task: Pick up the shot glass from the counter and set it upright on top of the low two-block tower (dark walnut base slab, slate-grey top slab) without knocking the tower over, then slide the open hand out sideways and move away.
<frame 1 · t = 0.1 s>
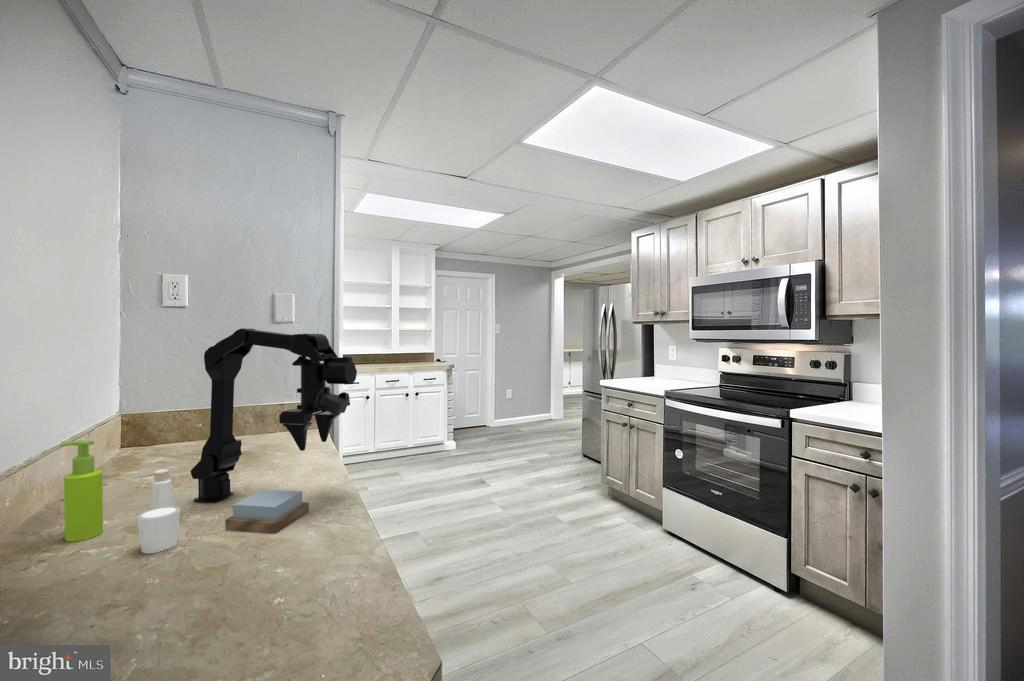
hand: (313, 445, 114), 15 cm above the countertop, tool pointing down, fingers open, 9 cm apart
soap dispenser: (81, 536, 97), on the countertop
tower base: (269, 523, 104), on the countertop, touching tower top
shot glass: (159, 547, 91), on the countertop
tower top: (269, 510, 104), point 2 cm above the countertop, touching tower base
pepper shaker: (161, 518, 106), on the countertop
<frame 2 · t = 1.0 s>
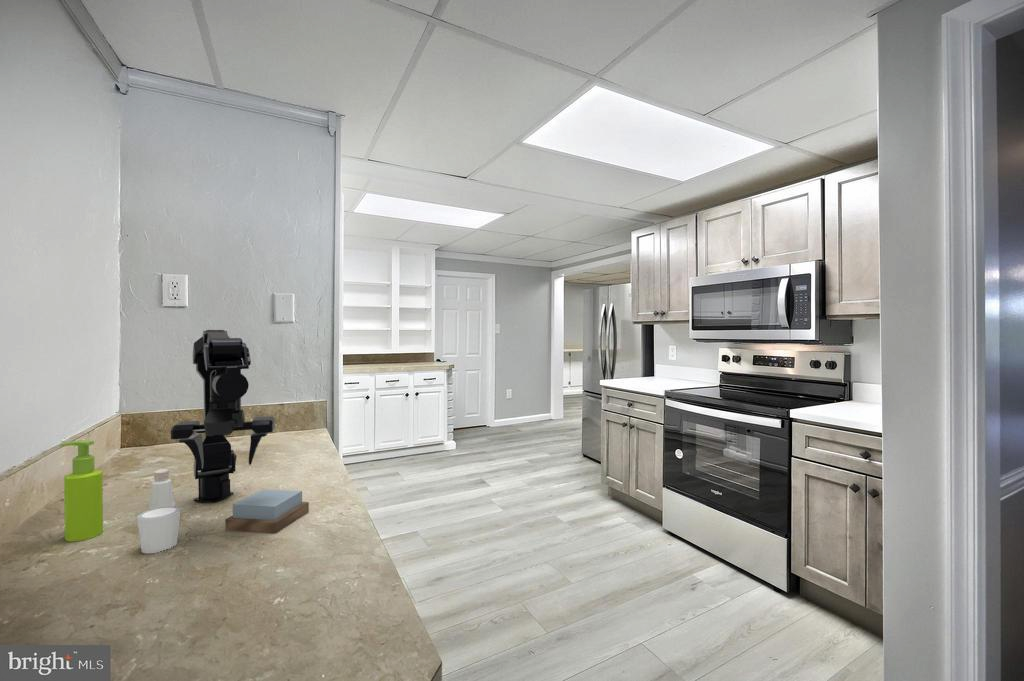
hand: (226, 466, 100), 14 cm above the countertop, tool pointing down, fingers open, 9 cm apart
nothing on the countertop moved.
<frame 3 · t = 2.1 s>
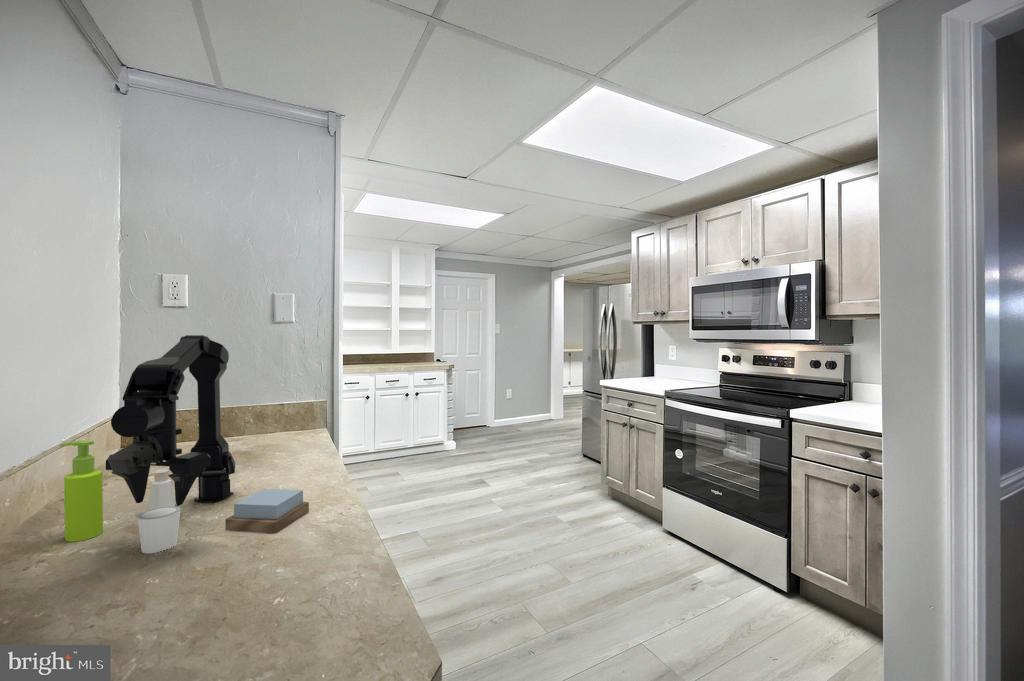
hand: (159, 503, 91), 9 cm above the countertop, tool pointing down, fingers open, 9 cm apart
nothing on the countertop moved.
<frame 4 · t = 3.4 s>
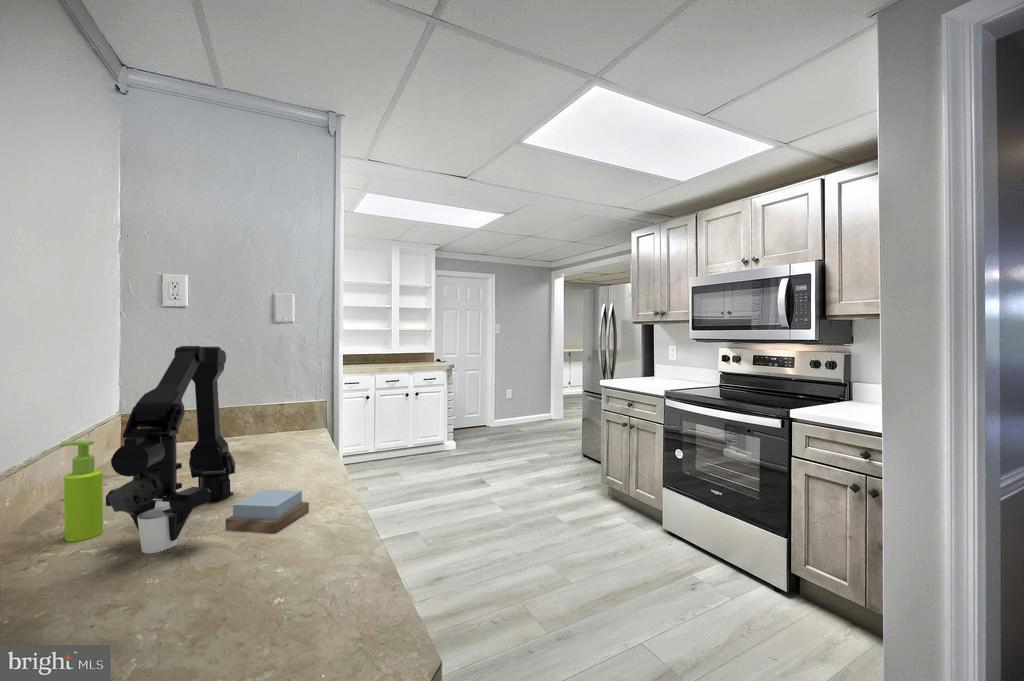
hand: (159, 539, 91), 2 cm above the countertop, tool pointing down, fingers closed on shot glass, 6 cm apart
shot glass: (159, 547, 91), on the countertop, touching gripper
everything else where it was.
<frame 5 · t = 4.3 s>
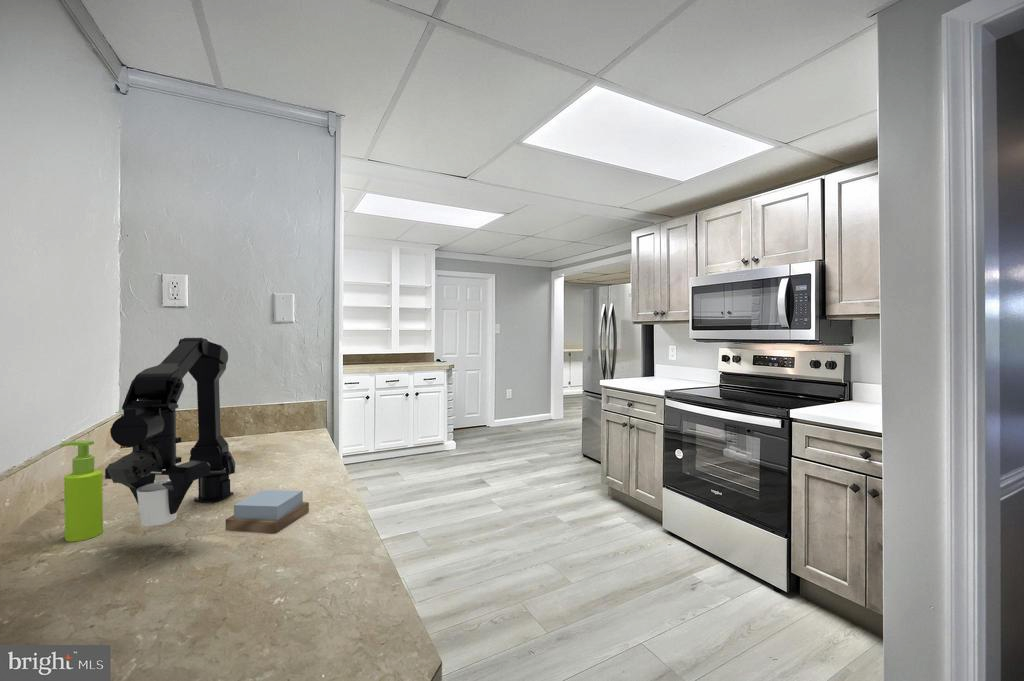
hand: (159, 512, 91), 7 cm above the countertop, tool pointing down, fingers closed on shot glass, 6 cm apart
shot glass: (159, 521, 91), point 5 cm above the countertop, touching gripper
everything else where it was.
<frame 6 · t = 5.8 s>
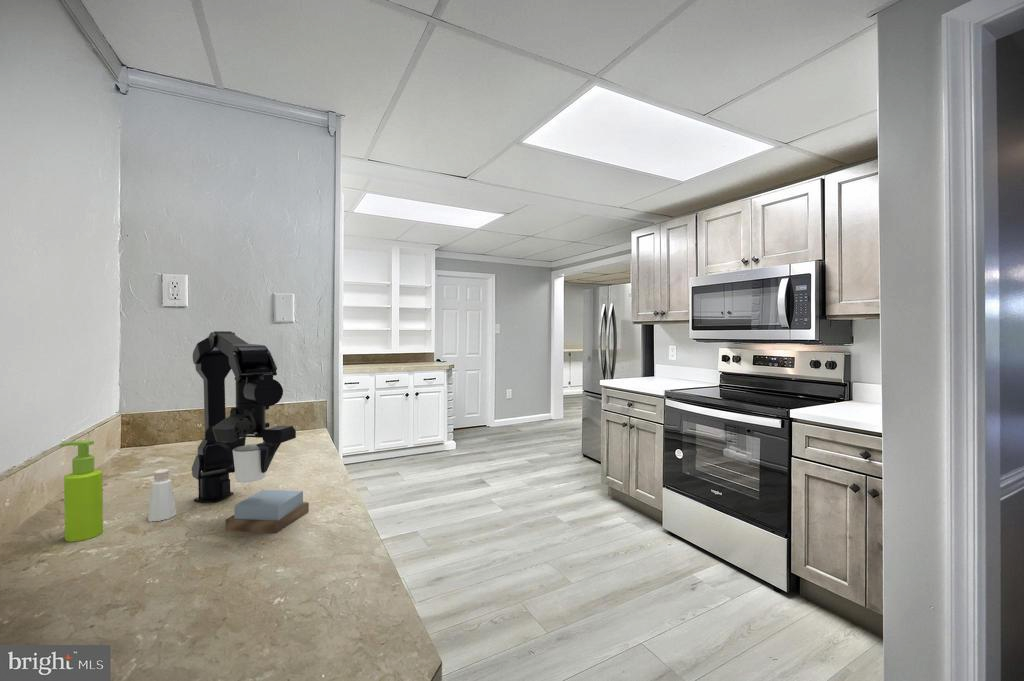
hand: (251, 471, 102), 12 cm above the countertop, tool pointing down, fingers closed on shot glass, 6 cm apart
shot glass: (250, 479, 102), point 10 cm above the countertop, touching gripper
everything else where it was.
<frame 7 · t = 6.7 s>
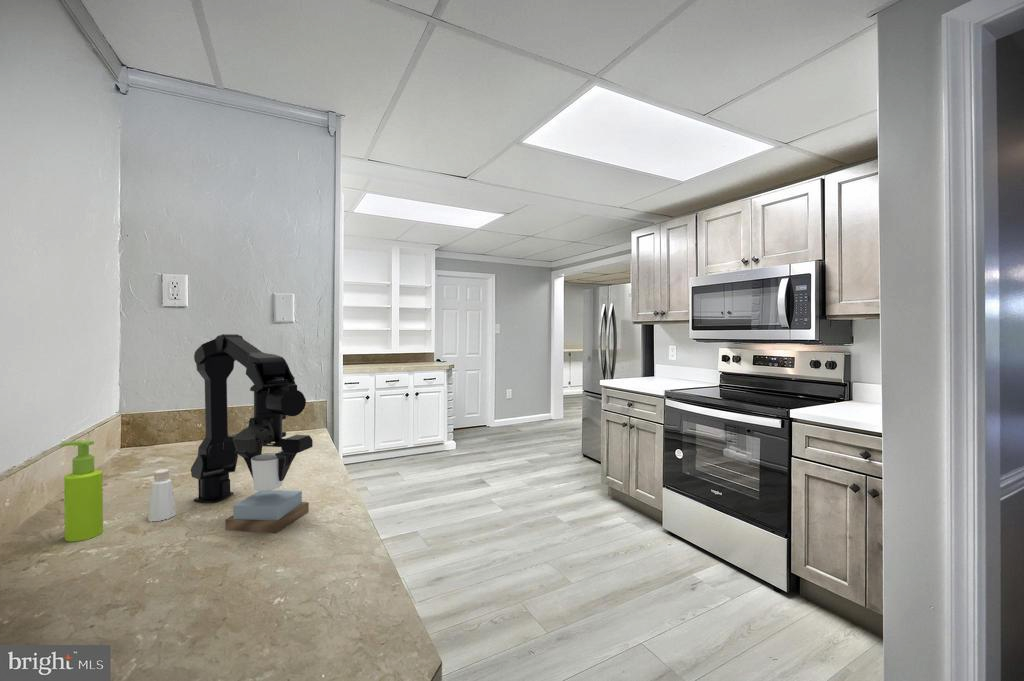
hand: (268, 479, 104), 9 cm above the countertop, tool pointing down, fingers closed on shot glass, 6 cm apart
tower base: (269, 523, 104), on the countertop
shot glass: (268, 487, 104), point 8 cm above the countertop, touching gripper
tower top: (269, 510, 104), point 2 cm above the countertop
everything else where it was.
when the fingers open (9 cm above the countertop, at t = 7.3 s): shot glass drops 2 cm, point 5 cm above the countertop.
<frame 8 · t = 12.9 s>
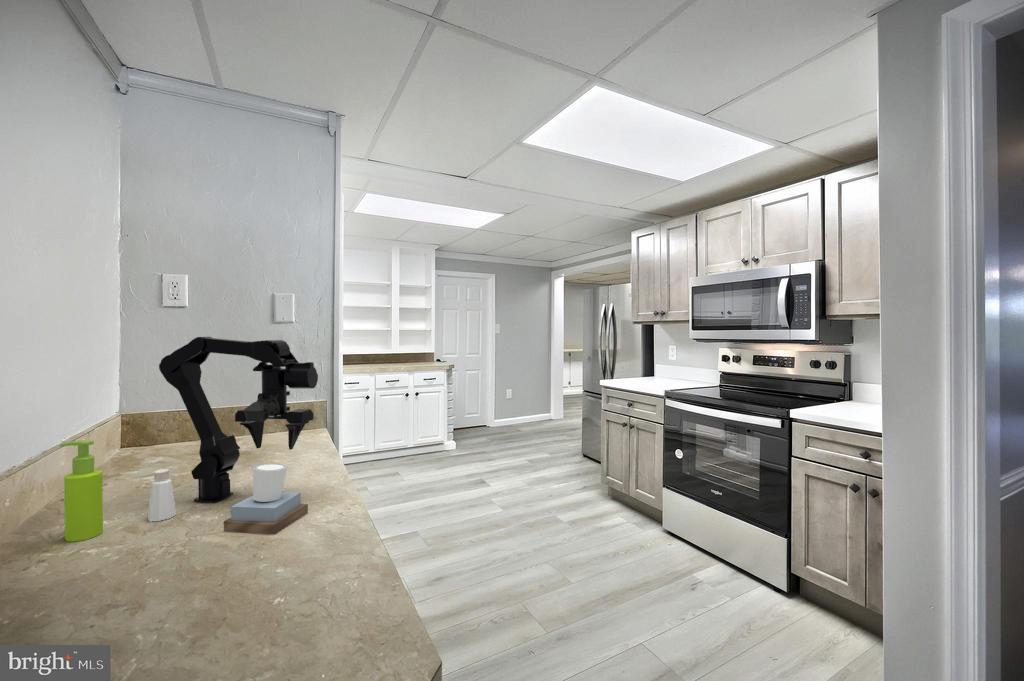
hand: (274, 448, 118), 13 cm above the countertop, tool pointing down, fingers open, 9 cm apart
tower base: (267, 525, 104), on the countertop, touching tower top
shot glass: (267, 498, 104), point 5 cm above the countertop
tower top: (267, 512, 104), point 2 cm above the countertop, touching tower base
everything else where it was.
at the end: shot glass 0.2 cm off-centre on the tower top, point 3.1 cm above the tower top's base; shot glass tilted 7°; tower top moved 1.1 cm from its start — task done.
